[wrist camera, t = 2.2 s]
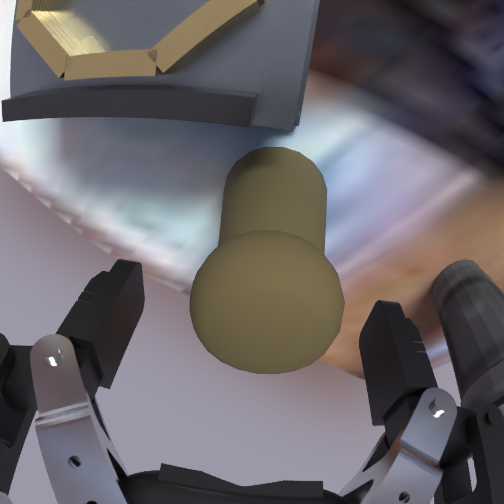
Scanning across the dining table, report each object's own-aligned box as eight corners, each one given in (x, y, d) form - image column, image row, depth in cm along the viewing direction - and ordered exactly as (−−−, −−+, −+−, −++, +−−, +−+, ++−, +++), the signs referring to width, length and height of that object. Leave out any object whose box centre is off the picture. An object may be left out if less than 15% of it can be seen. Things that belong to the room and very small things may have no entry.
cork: (297, 255, 21) (299, 410, 11) (209, 217, 20) (149, 361, 10) (345, 176, 17) (405, 313, 8) (248, 128, 16) (200, 225, 7)
